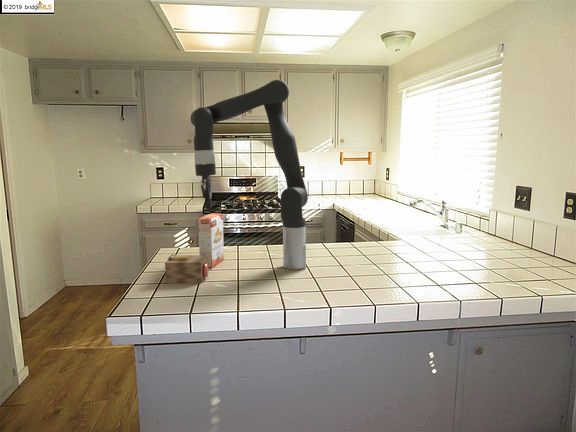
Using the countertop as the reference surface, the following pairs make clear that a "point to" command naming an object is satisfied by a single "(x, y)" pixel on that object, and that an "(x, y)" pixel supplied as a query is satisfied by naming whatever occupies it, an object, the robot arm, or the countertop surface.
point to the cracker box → (211, 238)
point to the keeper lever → (179, 257)
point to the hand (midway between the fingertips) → (208, 208)
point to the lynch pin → (205, 270)
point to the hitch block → (185, 270)
